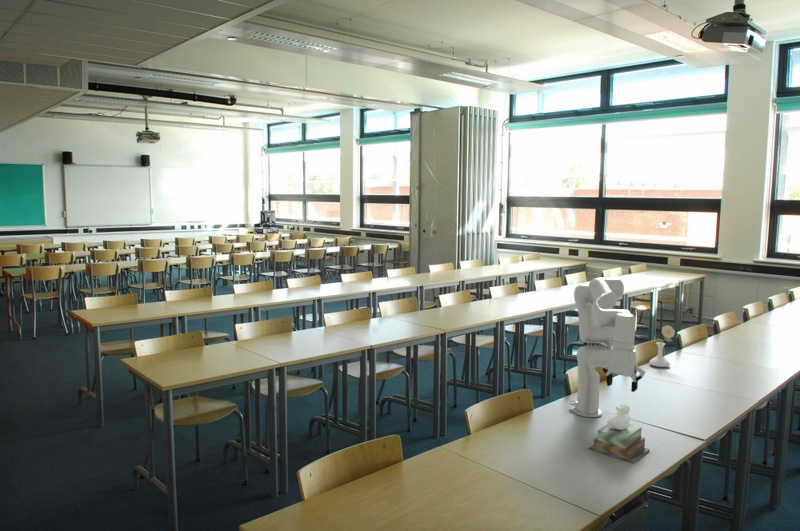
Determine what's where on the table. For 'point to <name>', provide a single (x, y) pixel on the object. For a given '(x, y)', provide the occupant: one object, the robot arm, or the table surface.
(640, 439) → the sage layered slab
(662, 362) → the flower in vase
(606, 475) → the table surface
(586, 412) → the robot arm
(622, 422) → the bust
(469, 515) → the table surface
